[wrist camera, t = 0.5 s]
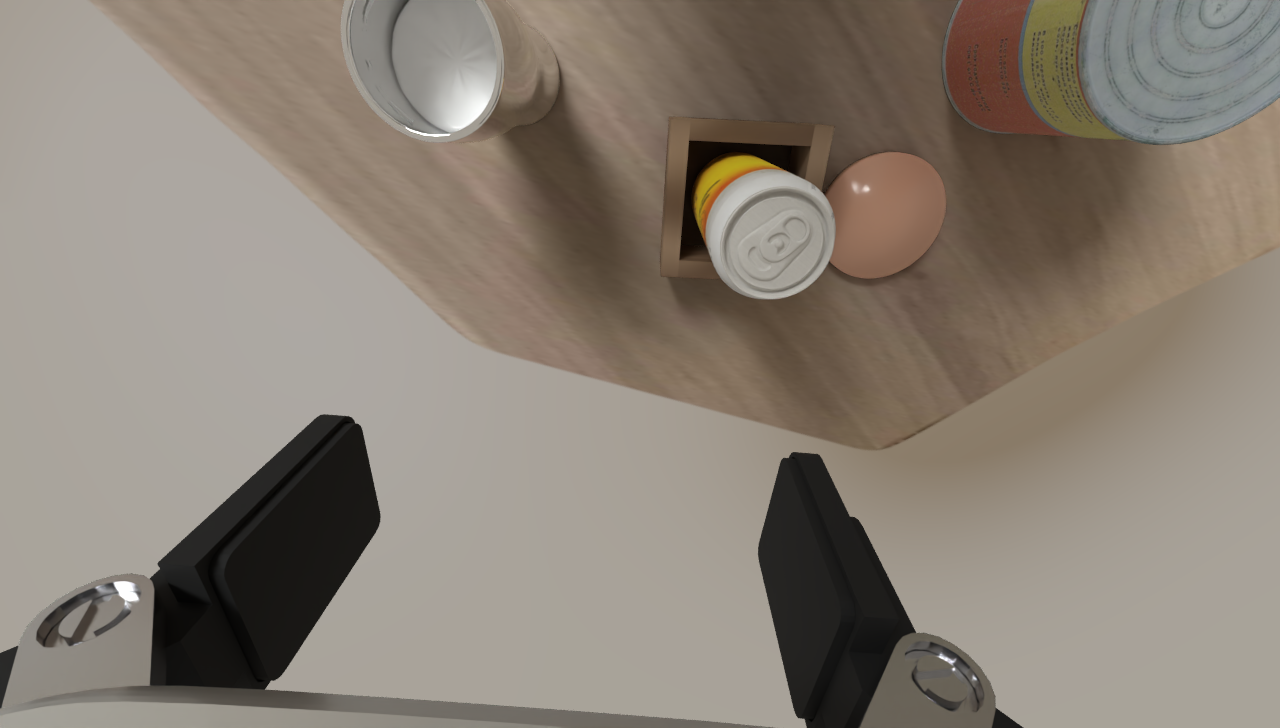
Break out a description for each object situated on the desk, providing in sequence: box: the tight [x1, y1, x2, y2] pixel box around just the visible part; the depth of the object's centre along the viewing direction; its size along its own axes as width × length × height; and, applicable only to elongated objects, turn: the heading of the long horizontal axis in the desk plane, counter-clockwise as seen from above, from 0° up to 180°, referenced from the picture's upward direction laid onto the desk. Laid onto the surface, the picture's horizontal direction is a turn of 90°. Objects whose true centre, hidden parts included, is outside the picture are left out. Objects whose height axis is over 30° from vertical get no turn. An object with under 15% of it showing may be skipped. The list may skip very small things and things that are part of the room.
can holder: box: [660, 117, 835, 279], centre depth 34 cm, size 10×10×4 cm
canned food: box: [942, 0, 1280, 145], centre depth 26 cm, size 11×11×12 cm
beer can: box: [691, 152, 836, 299], centre depth 30 cm, size 6×6×15 cm
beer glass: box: [341, 0, 560, 143], centre depth 27 cm, size 7×7×15 cm
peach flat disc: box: [824, 152, 946, 278], centre depth 36 cm, size 9×9×1 cm
